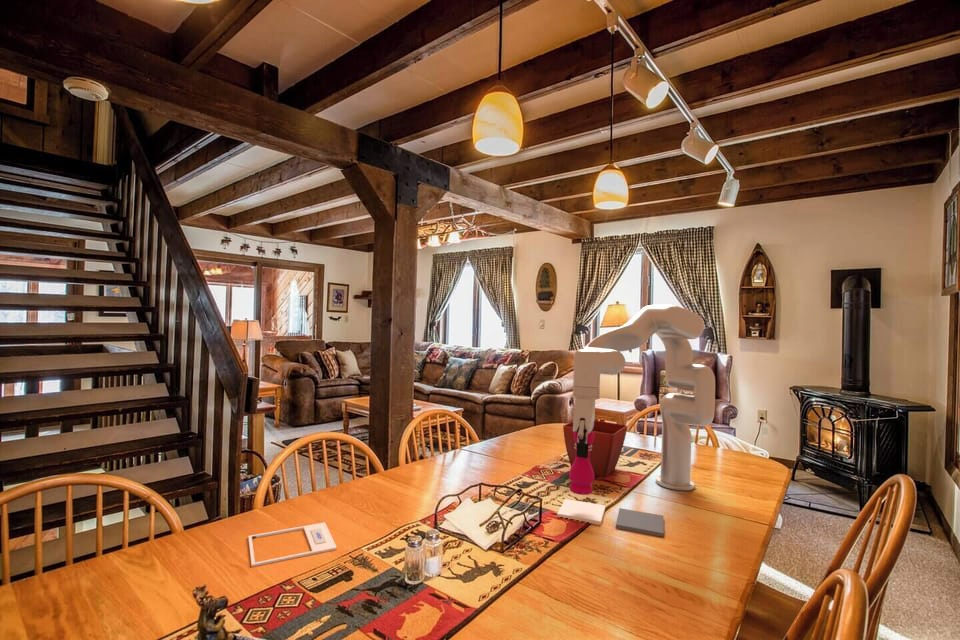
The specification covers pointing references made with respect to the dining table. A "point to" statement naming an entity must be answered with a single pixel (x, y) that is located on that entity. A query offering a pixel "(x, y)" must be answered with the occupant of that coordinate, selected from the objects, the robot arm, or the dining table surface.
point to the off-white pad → (582, 511)
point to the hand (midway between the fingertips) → (583, 453)
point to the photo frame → (315, 534)
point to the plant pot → (599, 446)
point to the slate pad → (640, 522)
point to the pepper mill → (582, 470)
